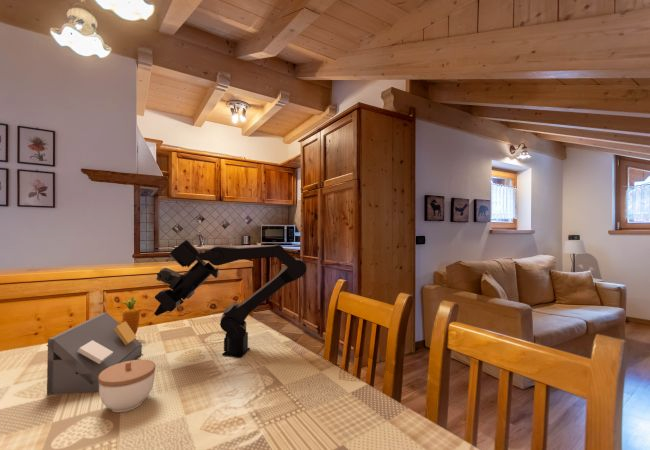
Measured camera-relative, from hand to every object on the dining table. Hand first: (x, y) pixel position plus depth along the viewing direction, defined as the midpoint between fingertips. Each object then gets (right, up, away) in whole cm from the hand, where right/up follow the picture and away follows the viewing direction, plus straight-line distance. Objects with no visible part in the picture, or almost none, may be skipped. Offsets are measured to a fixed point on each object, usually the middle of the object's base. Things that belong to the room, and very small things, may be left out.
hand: (155, 314), depth 91 cm
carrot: (-16, -13, +13) cm, 24 cm away
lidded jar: (+7, -13, -23) cm, 28 cm away
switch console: (-10, -13, -8) cm, 18 cm away
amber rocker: (-9, -8, -1) cm, 12 cm away
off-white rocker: (-6, -7, -15) cm, 18 cm away
